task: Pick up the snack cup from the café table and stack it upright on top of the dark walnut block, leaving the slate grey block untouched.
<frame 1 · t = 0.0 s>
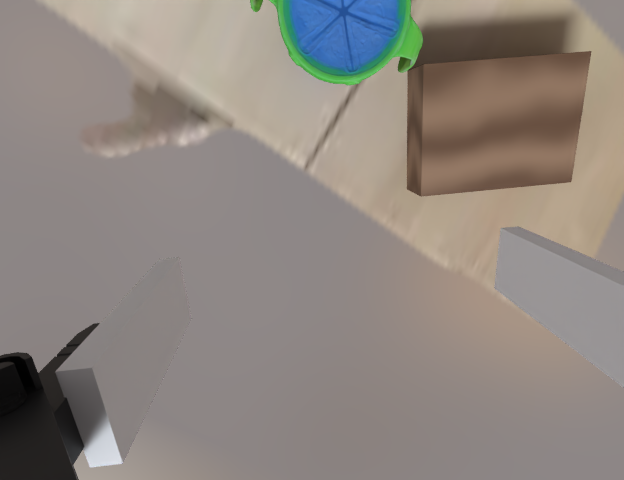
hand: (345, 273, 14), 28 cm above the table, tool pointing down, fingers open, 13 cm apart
walnut block: (477, 127, 41), on the table
snack cup: (329, 39, 37), on the table
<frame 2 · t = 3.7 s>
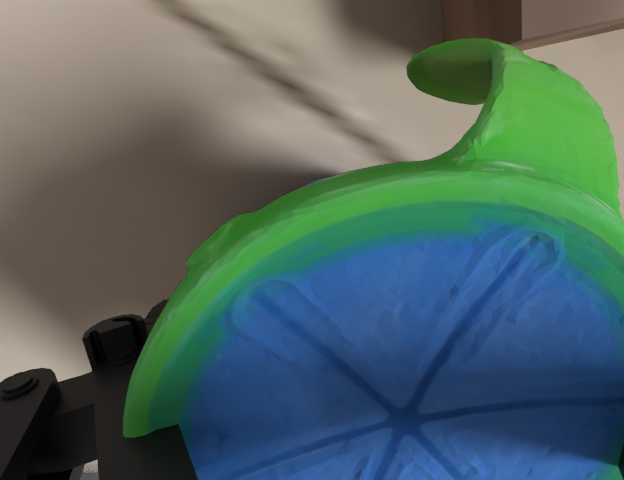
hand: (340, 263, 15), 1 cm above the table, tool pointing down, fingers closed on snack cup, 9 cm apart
snack cup: (336, 256, 16), on the table, touching gripper
when the fingers open (7 cm above the table, at t = 12.7 s): snack cup moves 2 cm, resting on walnut block.
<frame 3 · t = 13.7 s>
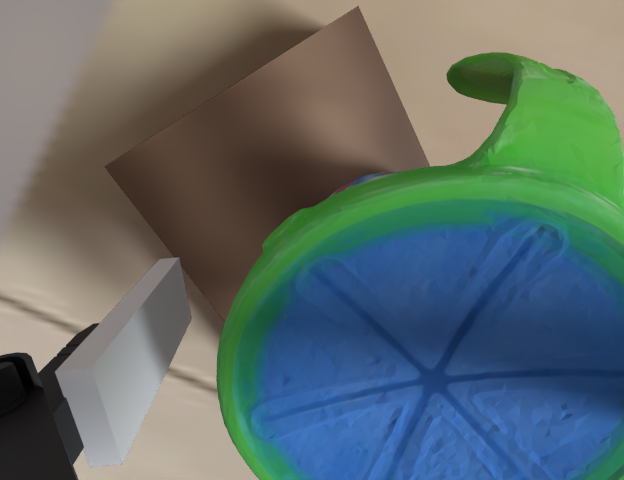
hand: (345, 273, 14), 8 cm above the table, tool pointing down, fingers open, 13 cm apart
walnut block: (314, 222, 22), on the table, touching snack cup
snack cup: (383, 245, 18), point 5 cm above the table, touching gripper, walnut block
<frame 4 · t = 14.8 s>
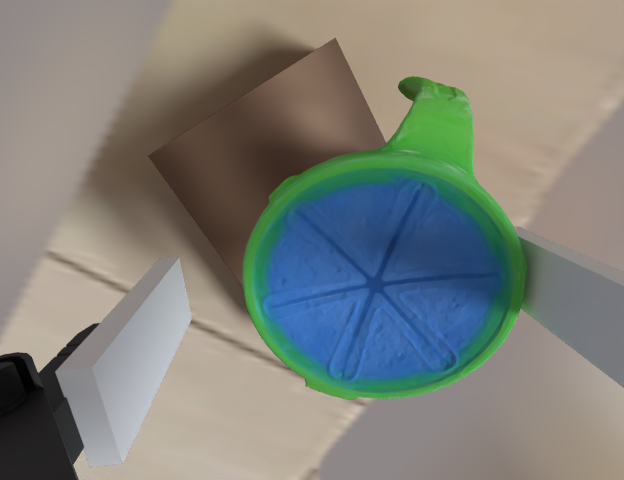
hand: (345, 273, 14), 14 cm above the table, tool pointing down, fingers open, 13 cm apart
walnut block: (306, 203, 28), on the table, touching snack cup
snack cup: (368, 214, 23), point 5 cm above the table, touching walnut block
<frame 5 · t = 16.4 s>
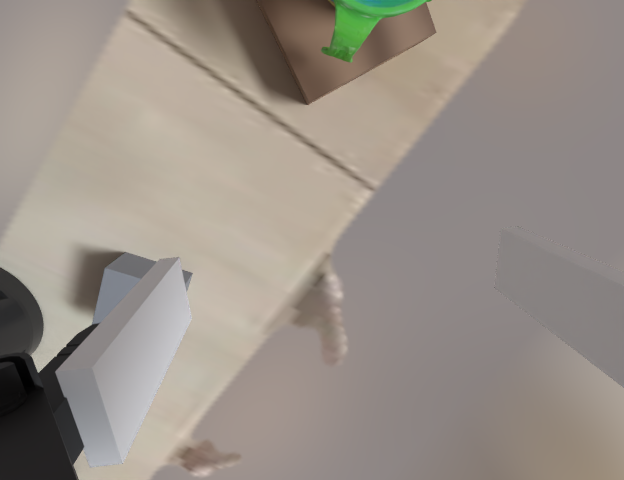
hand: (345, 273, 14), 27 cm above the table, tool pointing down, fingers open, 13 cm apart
slate block: (152, 290, 43), on the table
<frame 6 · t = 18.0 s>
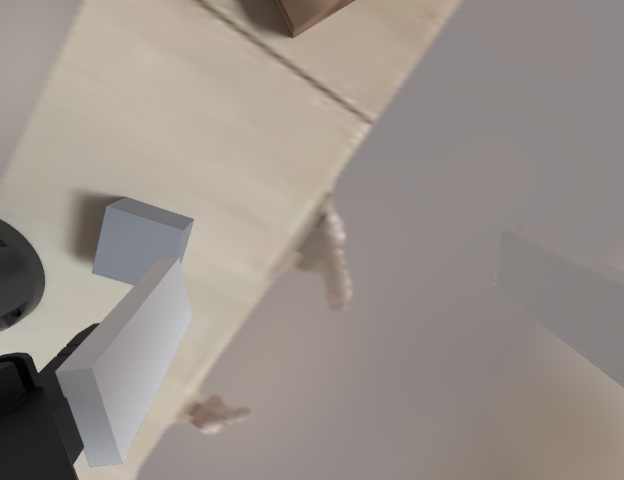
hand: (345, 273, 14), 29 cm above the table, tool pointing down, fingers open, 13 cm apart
slate block: (153, 238, 43), on the table
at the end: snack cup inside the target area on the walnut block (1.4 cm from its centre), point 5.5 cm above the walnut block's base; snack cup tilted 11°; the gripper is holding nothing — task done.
